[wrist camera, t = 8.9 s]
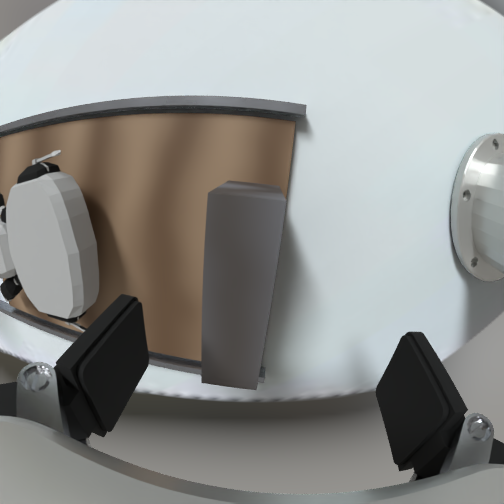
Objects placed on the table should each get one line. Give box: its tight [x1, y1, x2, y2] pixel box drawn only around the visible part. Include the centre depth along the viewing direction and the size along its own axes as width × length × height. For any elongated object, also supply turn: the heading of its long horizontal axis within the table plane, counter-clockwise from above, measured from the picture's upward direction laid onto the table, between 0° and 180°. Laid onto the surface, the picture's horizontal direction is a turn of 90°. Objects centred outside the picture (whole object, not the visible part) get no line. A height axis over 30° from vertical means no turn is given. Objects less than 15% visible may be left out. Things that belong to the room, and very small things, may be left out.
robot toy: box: [0, 150, 99, 332], centre depth 16 cm, size 12×4×15 cm
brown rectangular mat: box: [0, 113, 296, 390], centre depth 15 cm, size 28×18×6 cm, turn 84°
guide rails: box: [0, 96, 306, 383], centre depth 18 cm, size 36×20×1 cm, turn 84°
